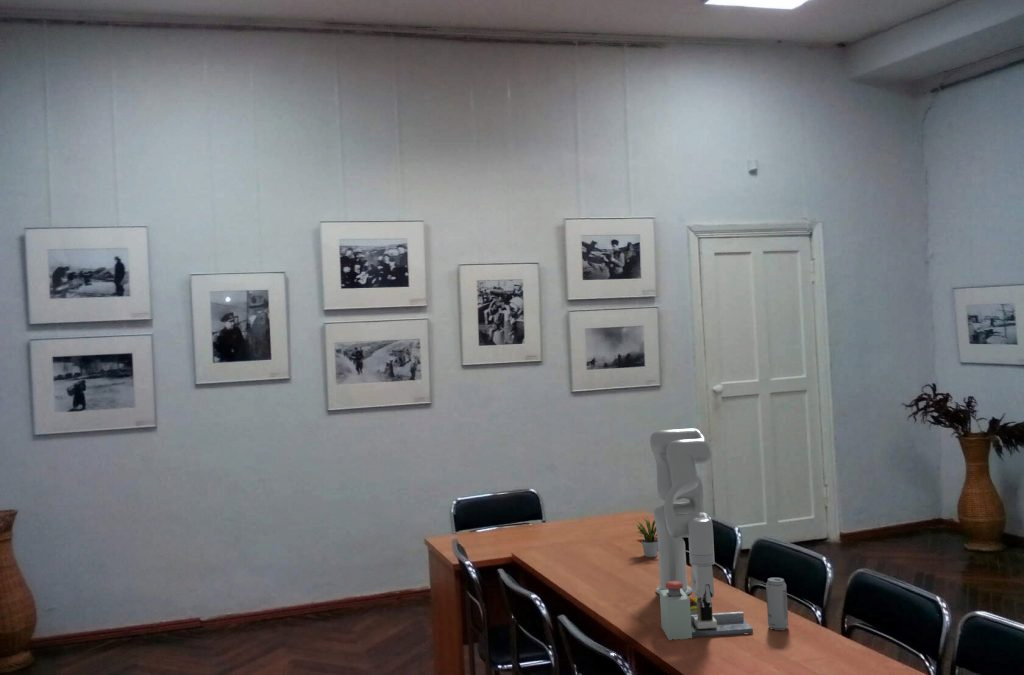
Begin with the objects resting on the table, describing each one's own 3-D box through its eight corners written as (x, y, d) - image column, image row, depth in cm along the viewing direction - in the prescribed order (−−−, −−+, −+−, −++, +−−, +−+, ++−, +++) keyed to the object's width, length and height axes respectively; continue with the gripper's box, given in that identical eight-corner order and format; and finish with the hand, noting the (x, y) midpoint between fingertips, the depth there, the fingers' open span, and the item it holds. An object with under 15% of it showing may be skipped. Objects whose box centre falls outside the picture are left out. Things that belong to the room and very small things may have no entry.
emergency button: (680, 607, 281) (666, 594, 296) (681, 621, 281) (667, 607, 296) (708, 604, 282) (692, 591, 297) (709, 618, 282) (693, 604, 297)
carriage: (693, 623, 271) (692, 599, 271) (712, 622, 271) (711, 598, 271) (697, 628, 266) (696, 604, 266) (717, 627, 266) (715, 603, 266)
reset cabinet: (661, 628, 274) (659, 590, 274) (683, 626, 274) (681, 588, 274) (669, 640, 263) (666, 600, 263) (691, 638, 263) (689, 599, 263)
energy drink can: (769, 624, 272) (766, 576, 272) (789, 625, 270) (786, 577, 270) (767, 630, 267) (764, 581, 267) (787, 632, 265) (785, 582, 265)
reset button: (664, 600, 271) (663, 581, 271) (681, 599, 271) (680, 580, 271) (668, 605, 266) (667, 586, 266) (685, 604, 266) (684, 585, 266)
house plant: (669, 550, 369) (667, 512, 369) (672, 559, 355) (670, 519, 355) (635, 551, 370) (633, 513, 370) (637, 559, 357) (635, 520, 357)
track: (684, 627, 273) (683, 615, 273) (744, 623, 274) (743, 611, 274) (691, 637, 264) (690, 624, 264) (753, 633, 265) (752, 620, 265)
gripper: (683, 552, 277) (686, 610, 277) (696, 566, 260) (699, 627, 260) (707, 551, 277) (710, 608, 277) (721, 564, 261) (724, 625, 261)
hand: (705, 617), depth 269 cm, fingers closed on carriage, 3 cm apart
